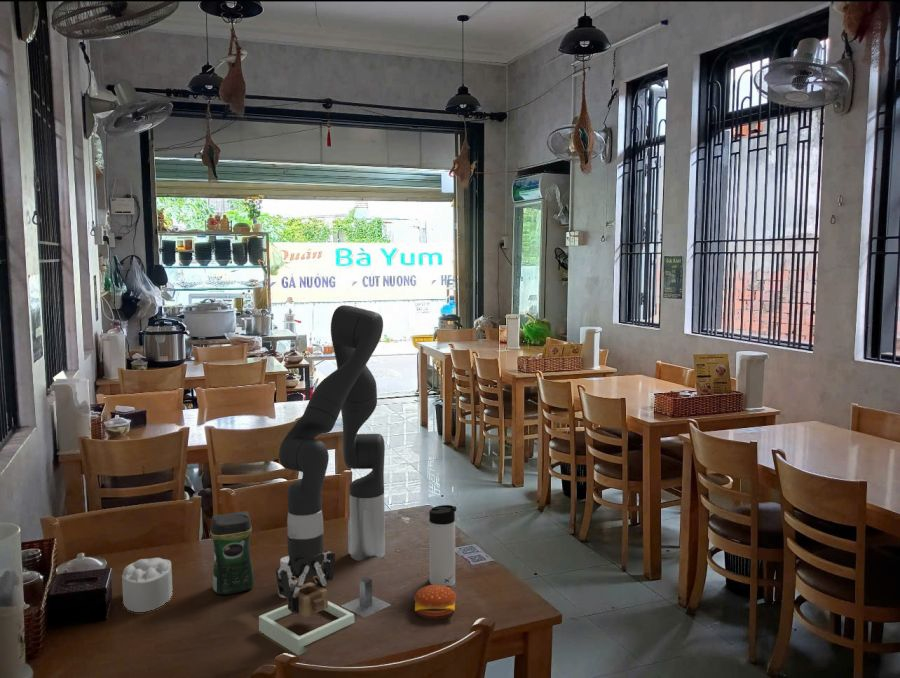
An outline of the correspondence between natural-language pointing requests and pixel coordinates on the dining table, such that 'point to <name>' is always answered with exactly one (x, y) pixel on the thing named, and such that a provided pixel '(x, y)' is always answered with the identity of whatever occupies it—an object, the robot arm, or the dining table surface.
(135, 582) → the lumpy-topped squat cylinder
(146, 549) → the dining table surface
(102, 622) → the dining table surface
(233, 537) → the coffee jar
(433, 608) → the hamburger
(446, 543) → the travel mug
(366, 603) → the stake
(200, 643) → the dining table surface
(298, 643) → the tray
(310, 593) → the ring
